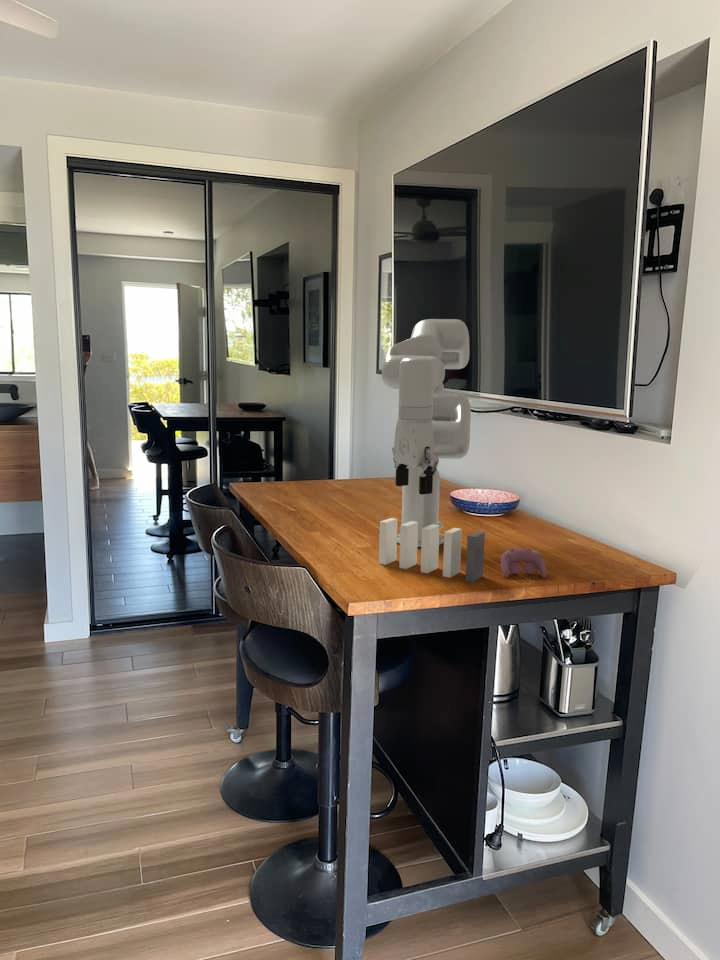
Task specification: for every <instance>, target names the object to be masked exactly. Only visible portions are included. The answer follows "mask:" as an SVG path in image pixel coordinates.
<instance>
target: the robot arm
mask: <svg viewBox="0 0 720 960" xmlns="http://www.w3.org/2000/svg"><path fill="white" fill-rule="evenodd" d="M469 361H470V335H469V329H468V326H467V325H466V323H465V322H464V321H463V320H461V319H457V318H456V319H455V318H453V319H452V318H451V319H450V318H429V319H423V320H420V321H419V322H417V323H416V324H415V325H414V326H413V328H412V332H411V336H410V338H407V339H405V340H403V341H401V342H398V343H396V344H394V345H392V346H390V348H388V350H387V352H386V355H385V357H384V360H383V362H382V366H381V367H382V370H381V378H382V381H383V383H384V385H385V386H386V387H388V388H392V389H398V415H397V416H398V418H397V421H396V425H395V431H394V441H393V447H392V448H391V451H392V454H393V458H392V459H393V462H394V468H395V486H396V487H402V488H401V489H402V490H401V491H402V494H401V495H402V498H401V525H402V524H405V523H407V522H410V521H414V522H418V543H417V548H421V543H422V528H424V527H427V526H429V525H432V524H434V525H440V526H439V530H441V529H443V528H444V523H443V522H442V521H439V519H440V517H439V516H440V514H439V511H440V486H441V483H440V482H441V477H440V473H439V470H438V465H439V462H440V460H439V459H442V460H443V459H445V460H446V459H447V460H454V459H455V460H457V459H459V460H460V459H463V458H464V457H466V456H467V454H468V452H469V449H470V441H471V440H470V439H471V419H472V418H471V417H472V415H471V414H472V413H471V410H472V409H471V403H470V399H469V398H468V397H467V396H466V395H465V394H462V393H458V392H445V386H444V383H443V382H444V380H445V376H446V370H461V369H464V368H465V367H466V366H467V365H468V363H469ZM397 544H399V545H400V533H397ZM442 544H443V545H444V536H442V535H440V534H439V546H441V545H442Z"/></svg>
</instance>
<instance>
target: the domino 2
mask: <svg viewBox="0 0 720 960" xmlns="http://www.w3.org/2000/svg"><path fill="white" fill-rule="evenodd" d="M399 528H400V529H399V531H400V532H399V534H400V544H399V569H404V570H408V569H409V568H412V567H413V566H416V565H418V547H417V543H418V522H414V521H410V522H407V523H405V524H402V523H401V524H400V527H399Z"/></svg>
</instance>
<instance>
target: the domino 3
mask: <svg viewBox="0 0 720 960" xmlns="http://www.w3.org/2000/svg"><path fill="white" fill-rule="evenodd" d="M439 526H440V525H434V524H432V525H429V526H427V527H424V528H422V543H421V547H420V548H421V549H420V551H421V552H420V553H421V554H420V573H424V574H429V573H432V572H433V571H435V570H437V569H438V568H439V556H440V555H439V553H440V552H439V549H440V548H439V547H440V545H439V535H440V529H439Z"/></svg>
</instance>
